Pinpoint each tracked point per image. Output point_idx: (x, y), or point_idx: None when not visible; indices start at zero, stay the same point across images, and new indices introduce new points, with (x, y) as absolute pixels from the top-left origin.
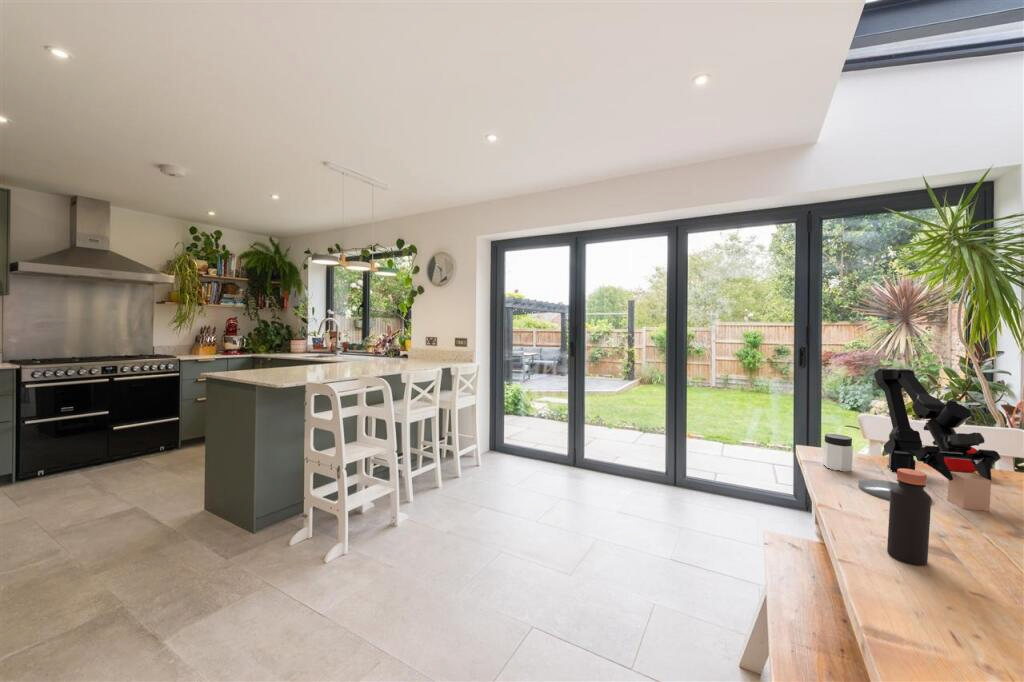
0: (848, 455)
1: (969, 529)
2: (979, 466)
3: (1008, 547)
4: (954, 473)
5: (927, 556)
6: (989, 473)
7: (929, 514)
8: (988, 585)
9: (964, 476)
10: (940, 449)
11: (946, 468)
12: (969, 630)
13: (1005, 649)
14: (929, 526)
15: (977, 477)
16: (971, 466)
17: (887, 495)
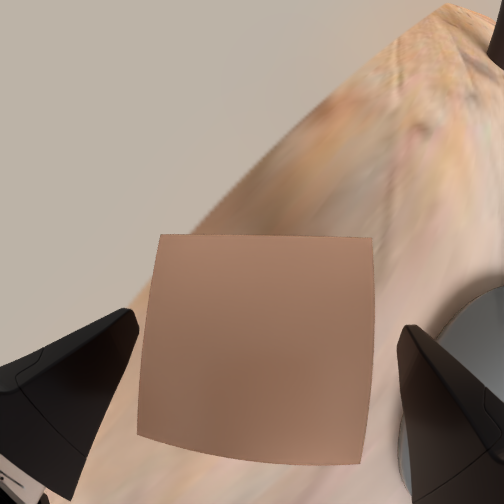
0: None
1: (417, 119)
2: (47, 450)
3: (376, 65)
4: (357, 405)
5: (489, 44)
6: (67, 340)
7: (501, 4)
8: (441, 27)
9: (326, 315)
10: None
11: (464, 386)
12: (461, 14)
13: (447, 6)
14: (498, 16)
15: (204, 311)
16: None
17: None
